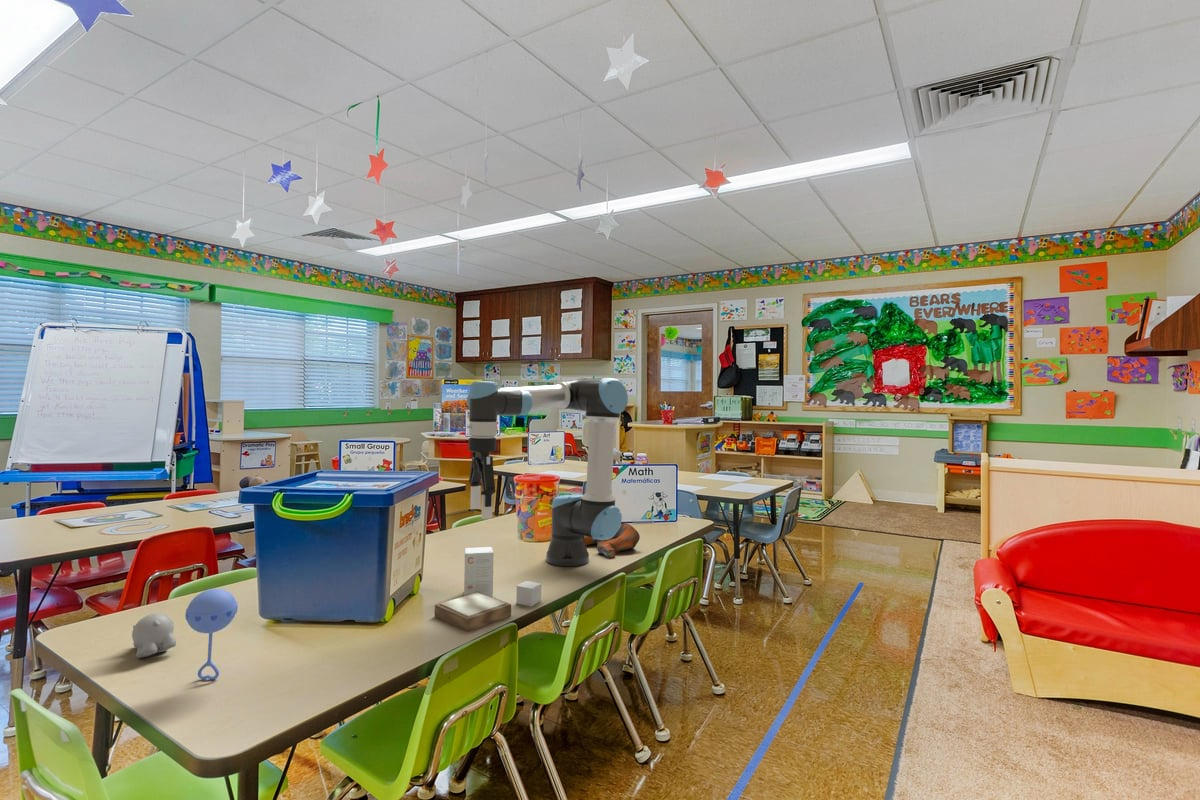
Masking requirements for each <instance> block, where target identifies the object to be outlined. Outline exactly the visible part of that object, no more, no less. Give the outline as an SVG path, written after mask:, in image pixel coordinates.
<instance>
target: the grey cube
mask: <svg viewBox="0 0 1200 800" xmlns="http://www.w3.org/2000/svg"><path fill="white" fill-rule="evenodd" d="M515 595H516V596H515V597H516V599H515V600H516V602H515V603H516V604H519V605H523V606H527V607H533V606H535V605H536V604H538V603H540V602H541V601H542V583H540V582H535V581H530V580H525V581H523V582H521V583H519V584H517V585H516V594H515Z"/></svg>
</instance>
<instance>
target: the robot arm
mask: <svg viewBox="0 0 1200 800" xmlns="http://www.w3.org/2000/svg"><path fill="white" fill-rule="evenodd" d="M498 386H499V385H498V382H496V381H487V380H485V381H484V380H483V381H482V380H476V381H475V380H474V381H472V382H471V383H470V387H469V393H468V394H467V397H466V405H467V407H468V409H469V410H468V411H469V413H468V414H469V417H468V419H469V422H468V423H469V424H468V425H466V428H467V429H468V431H469V432H468V435H469V436H471V437H469V438H468V451H469V452H471V455H472V456H471V464H470V465H471V466H470V469H469V470H470V471H469V472H470V473H469V478H468V483H470V484H469V485H470V499H469V500H470V503H469V504H470V505H469V506H470V507H469V509H470V510H480V509H481V520H489V519H493V504H494V502H493V501H494V497H493V495H494V494H495V493H496V483H495V472H494V458H493V456H490V453H492V452H496V450H497V438H496V436H497V434H498V430H497V429H498V416H518V417H519V416H525V415H528V414H530V412H531V411H532V410H536V409H548V408H555V409H558V410H575V411H581V412H585V418H586V419H587V420H588V422H589V431H588V432H589V433H588V450H587V451H588V452H587V466H586V470H587V471H586V488H585V493H584V494H581V493H579V494H577V493H576V494H565V495H558V496H556V497H554V498H553V500H552V507H551V539H550V542H549V545H548V549H547V552H546V555H545V562H546V563H548V564H550V565H553V566H557V567H579V566H582V565H585V564H588V563H589V562H590V561H589V560H590V554H589V552H588V548H587V545H586V543H585V539H584V536H588V537H592V538H594V539H600V540H608V539H610V538H612V537H613V536H614V535H615V534H616V532H617V531H618V530H619V528H620V525H621V522H622V520H623V518H622V517H623V516H622V512H621V510H620V508H619V507H618V506H616V497H615V496H614V495H613V494H612V488H613V487H612V486H613V485H612V482H613V467H614V466H613V465H614V464H613V463H614V449H615V446H614V445H615V444H614V443H615V430H616V429H615V426H616V422H617V421H619V420H620V419H621V413H623V412H624V411H625V410H626V408H627V406H628V401H629V396H628V395H629V394H628V390H627V388H626V386H625V385H624V383H623V382H622V381H621V380H619V379H617V378H613V377H582V378H576V379H571V380H566V381H565V380H564V381H556V382H555V383H554V384H549V385H548V384H545V385H534V386H533V385H531V386H530V385H529V386H527V385H526V386H514V387H512V386H511V387H498ZM481 489H482V490H481Z"/></svg>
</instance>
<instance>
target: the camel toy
mask: <svg viewBox="0 0 1200 800" xmlns="http://www.w3.org/2000/svg"><path fill="white" fill-rule="evenodd" d="M584 539H585V543H586V546H588V545H591V544H597V548H596V549H597V551H598V554H601V555H604V556H605V557H606V558H608V559H609V558H610V559H611V558H612V559H613V558H615V557H616V552H618V551H619V552H620V551H626V550H630V549H635V548H636V545H638V543H639V541H640V539H641V537H640V534H639V532H638V531H637V530H636V528H635V527H633V526H632V524H629V523H627V522H622V521H621V525H620V528H619V530H618V531H617V532H616V534H615V535H614V536H613V537H612V538H610V539H608V540H600V539H594V538H592V537H588V536H584Z"/></svg>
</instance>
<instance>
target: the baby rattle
mask: <svg viewBox="0 0 1200 800" xmlns="http://www.w3.org/2000/svg"><path fill="white" fill-rule="evenodd" d="M238 606H239V605H238V601H237V599H236V598H235V596H234V595H233V594H232V592H230V591H228V590H226V589H223V588H210V589H207V590H204V591H202V592H200V593H198V594H197V595H195V597H193V599H192V600H191V601H190V603H189V604H188V606H187V608H186V610H185V616H184V617H185V620H186V622H187V624H188V625H189V627H190V628H191V629H192V630H194V631H195V632H197V633H202V634H208V645H207V661H206V662H205V663H204V664H202V666H201V667H200V668H199V669H198V670H197V677H198V678H199V679H201V680H206V679H209V680H212V681H213V680H214V681H215V680H217V679H218V677H219V676H220V670H219V669H218V667H217V666H216V664H214V662H213V661H212V652H213V651H212V647H213V633H216V632H219V631H221V630H223V629H224V628H227V627H228V625H229V624H231V622H232V621H233V620H234V618H235V616H236V615H237V613H238V608H239V607H238ZM206 667H211V668H212V670H213V671H214V673H215V675H214V676H213V675H211V674H206V675H203V674H202V672H203V670H204V669H205V668H206Z"/></svg>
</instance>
